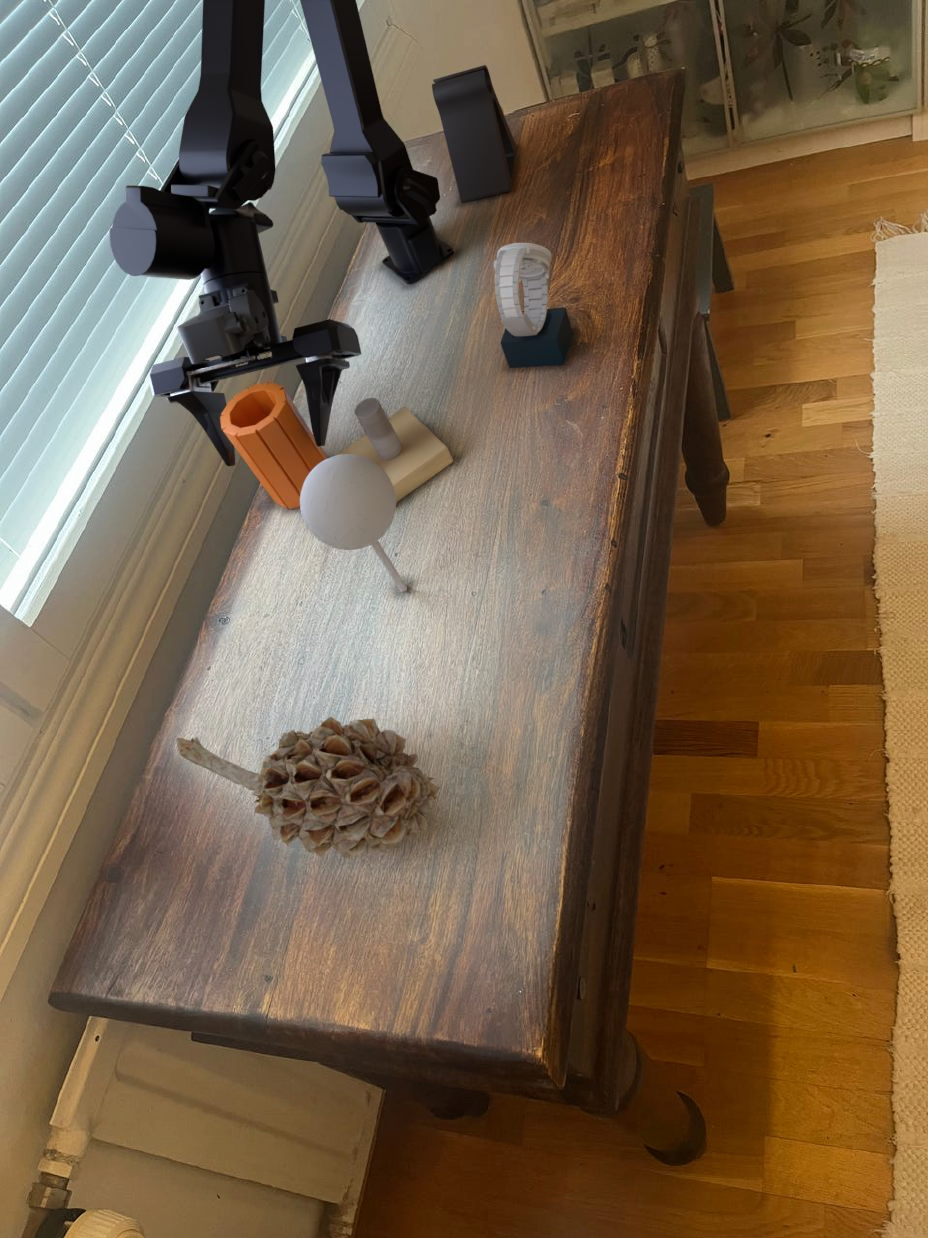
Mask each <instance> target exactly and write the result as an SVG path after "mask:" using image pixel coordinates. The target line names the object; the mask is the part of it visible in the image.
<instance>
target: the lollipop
mask: <svg viewBox="0 0 928 1238" xmlns="http://www.w3.org/2000/svg"><path fill="white" fill-rule="evenodd" d="M327 458H328V459H325V460H324V461H322V462H321V463H319V464H318V465H317V466H316V467H314V469H313V470H312V471H311V472H310V473H309V475H308V476H307V477H306V480H305V482H304V484H303V487H302V490H301V495H300V507H299V508H300V509H299V510H300V513H301V517H302V519H303V521H304V524H305V525H306V527H307V529H308V530H309V531H310V533H311V534H312V535H313V536H314V537H315V538H316V539H317V540H318V541H320V542H321V543H323V544H325V545H326V546H329V547H331V548H334V549H337V550H341V551H357V550H361V549H364V548H367V547H369V546H371V548H372V550H373V551H374V553H375V555H376V556H377V557H378V559H379V560H380V562H381V563H382V565H383V567H384V568H385V570H386V571H387V573H388V575H389V576H390V577H391V579H392V581H393V583H394V584H395V585H396V586H397V588H398V590H399V591H400V592H401V593H404V592H407V590H408V586H407V585H406V582H404V580H403V577H402V576H401V575H400V573H399V572H398V571H397V569H396V568H395V567H396V566H394V564H393V562H392V561H391V560H390V558H389V556H388V554H387V553H386V551H385V550H384V548H383V546H382V545H381V543H380V542H379V540H380V539H381V538H382V537H383V536H384V535H385V534H386V533H387V531H388V530H389V528H390V527H391V525H392V522H394V521H393V520H394V518H395V514H396V510H397V509H396V508H397V502H396V496H395V491H394V488H393V485H392V482H391V480H390V478H389V477H388V475H387V473H386V472H385V471H384V470H383V469H382V468H381V467H380V466H378V465H377V464H376V463H374V462H373V461H371V460H369V459H367V458H365V457H362V456H358V455H354V454H343V455H332V456H330V457H327Z"/></svg>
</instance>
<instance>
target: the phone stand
mask: <svg viewBox="0 0 928 1238" xmlns="http://www.w3.org/2000/svg"><path fill="white" fill-rule="evenodd" d="M432 82H433V83H431V91H432V95H433V100H434V103H435V106H436V108H437V111H438V115H439V118H440V121H441V125H442V129H443V133H444V138H445V141H446V142H445V143H446V146H447V151H448V154H449V158H450V162H451V167H452V170H453V175H454V178H455V182H456V187H457V190H458V196H459V199H460V202H461V204H463V203H468V202H472V201H476V200H481V199H485V198H489V197H494V196H497V195H501V194H506V193H510V192H512V187H513V181H514V172H515V166H516V158H517V152H518V151H517V150H518V148H517V144H516V142H515V140H514V137H513V135H512V132H511V129H510V127H509V124H508V122H507V119H506V116H505V114H504V112H503V109H502V107H501V106H502V105H501V104H500V102H499V99H498V96H497V94H496V91H495V89H494V85H493V82H492V78H491V75H490V71H489V69H488V66H487V65H486V64H483V65H480V66H477V67H476V66H475V67H473V68H469V69H466V70H462V71H459V72H455V73H451V74H448V75H445V76H441V77H437V78H434V79H432Z"/></svg>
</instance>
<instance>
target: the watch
mask: <svg viewBox="0 0 928 1238" xmlns="http://www.w3.org/2000/svg"><path fill="white" fill-rule="evenodd" d="M551 260H552V252H551V251H550V249H548V248H546V247H545V246H543V245H540V244H536V243H530V242H514V243H508V244H506V245H503V246H502V247H500V248H499V249H498V251H497V252H496V259H495V260H493V268H494V290H495V298H496V299H495V300H496V304H497V309H498V312H499V315H500V317H501V319H500V321H501V323H502V325H503V326H504V331H503V333H502V337H501V340H500V343H499V344H500V346H501V349H502V352H503V354H504V358H505V360H506V363H507V366H508V368H509V369H517V368H533V367H534V368H535V367H551V366H564V365H565V363H566V360H567V356H568V352H569V349H570V345H571V343H572V338H573V335H574V331H573V329H572V328H573V327H572V324H571V320H570V317H569V313H568V310H567V307H566V306H564V307H551V308H548V305H549V295H548V293H549V286H548V285H549V284H548V279H550V271H551ZM520 282H522V286H523V288H522V289H523V296H524V299H523V300H524V302H523V303H524V307H523V310H522V305H521V299H520V284H519V283H520Z"/></svg>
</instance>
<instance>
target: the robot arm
mask: <svg viewBox="0 0 928 1238" xmlns="http://www.w3.org/2000/svg"><path fill="white" fill-rule="evenodd" d="M299 2H300V5H301V9H302V13H303V16H304V21H305V24H306V28H307V31H308V35H309V39H310V43H311V47H312V51H313V55H314V58H315V62H316V66H317V70H318V73H319V77H320V81H321V85H322V88H323V91H324V96H325V99H326V103H327V107H328V111H329V114H330V118H331V122H332V126H333V135H332V139H331V144H330V147H329V151H328V152H326V153H323V154H322V155H321V156H320V157H321V158H320V159H321V160H320V162H321V167H322V169H323V171H324V174H325V177H326V181H327V185H328V197H330V198H334V201H335V203H336V205H337V207H338V209H339V210H340V211H343V212H344V213H346V214H347V215H348V216H351V217H352V218H353V219H354V220H355V221H356V223H358V224H363V223H373V224H374V223H375V225H376V228H377V230H378V233H379V235H380V237H381V239H382V242H383V244H384V246H385V248H386V251H387V253H388V256H386V257H384V258H383V259H382V261H381V263H382V265H383V267H385V268H386V269H388V270H389V271H390V272H391V273H393V275H395V276H396V277H397V278H399V279H400V280H402V281H403V282H404V283H405V284H407V285H412V284H413V283H414V282H416V281H417V280H419V279H420V278H422V277H423V276H425V275H426V274H428V273H429V272H430V271H433V269H435V268H436V267H438V266H439V265H441V264H443V263H444V262H445V261H446V260H448V259H450V258H451V257H453V255H454V254H455V249H454V247H452V246H451V245H449V244H448V243H447V242H445V241H443V240H442V239H440V238H439V237H438V235H437V231H436V230H435V227H434V224H433V221H432V219H431V217H432V216H433V215H435V214H436V213H437V211H438V209H437V203H439V201H440V200H441V194H440V186H439V179H438V177H436V176H433V175H430V174H427V173H424V172H421V171H418V170H415V169H414V168H413V165H412V161H411V159H410V156H409V153H408V149H407V146H406V144H405V143H404V141H403V140H402V139H401V137H400V136H399V135H398V133H396V131H395V130H394V129H393V128H392V126H391V125H390V124H389V123H388V121H387V120H386V119H385V117H384V115H383V112H382V107H381V103H380V99H379V93H378V89H377V86H376V81H375V76H374V73H373V68H372V63H371V60H370V59H371V58H370V56H369V49H368V47H367V41H366V38H365V33H364V29H363V24H362V20H361V16H360V12H359V8H358V3H357V0H299ZM265 8H266V0H202V18H201V19H202V21H201V23H202V24H201V51H200V52H201V54H200V55H201V56H200V77H199V83H198V88H197V92H196V94H195V96H194V98H193V100H192V101H191V103H190V105H189V107H188V109H187V111H186V113H185V115H184V119H183V124H182V125H183V126H182V131H181V137H180V138H181V139H180V142H179V143H180V144H179V150H178V159H177V160H176V163H175V164H174V166H173V167H172V169H171V171H170V173H169V174H168V176H167V178H166V180H165V181H164V183H163V185H162V186H161V188H160V190H159V189H158V188H156V187H153V186H147V185H126V186H125V187H124V195H125V201H124V202H123V203H122V204H121V205H120V206H119V207H118V209H116V211H115V213H114V217H113V220H112V224H111V225H112V226H111V227H110V228H109V244H110V249H111V253H112V256H113V258H114V261H115V263H116V264H117V266H118V267H119V268H120V269H121V270H122V271H123V272H124V273H125V274H127V275H129V276H132V277H139V278H141V277H143V278H155V279H170V280H186V281H191V280H194V279H196V278H198V277H200V278H201V282H202V286H203V290H204V293H203V294H199V295H198V299H199V300H198V306H199V310H200V313H199V314H198V315H194V316H193V317H192V318H189V319H187V320H186V321H185V322H183V323H181V324H179V325H177V327H176V330H177V331H178V333H179V336H180V339H181V341H182V343H183V346H184V348H185V350H186V354H187V356H183V357H178V358H174V359H171V360H167V361H163V362H159V363H155V364H152V367H151V369H150V373H149V376H148V382H149V386H150V390H151V395H152V397H153V398H166V400H167V401H168V403H169V404H172V405H173V404H174V405H175V404H176V405H180V406H182V407H183V408H184V409H185V410H187V412H189V413H190V414H191V415H192V416H193V417H194V418H195V420H196V421H197V423H198V424H199V425H200V426H201V428H202V430H204V432H205V434H206V436H207V437H208V438H209V440H210V442H211V444H212V445H213V446H214V449H215V450H216V451H217V453H218V455H219V456H220V458H221V459H222V461H223V462H224V464H225V465H226V466H227V467H235V466H236V448H235V447H234V445H233V444H232V443H231V441H230V440H229V439H228V437H227V436H226V434H225V433H224V432H223V430H222V428H221V420H220V417H221V416H222V415H221V413H222V412H223V410H224V409H225V407H226V405H227V401H226V395H225V393H224V392H216V391H215V390H216V388H217V386H218V384H219V382H220V381H223V380H226V379H230V378H234V377H238V376H242V375H246V374H250V373H255V372H258V371H262V370H267V369H271V368H274V367H278V366H282V365H286V364H291V363H294V362H299V361H302V360H305V362H302V363H298V364H296V365H295V368H296V370H297V372H298V375H299V376H300V379H301V381H302V383H303V385H304V389H305V397H306V403H307V408H308V414H309V415H308V416H309V420H310V421H309V422H310V426H311V427H310V428H311V432H312V434H313V435H314V439H315V442H316V445H317V446H318V447H321V448H322V447H324V446H326V441H327V435H328V430H329V424H330V418H331V412H332V408H333V403H334V398H335V394H336V392H337V388H338V385H339V382H340V378H341V375H342V371H344V370H347V369H349V368H350V367H351V364H350V361H349V360H348V361H347V359H350V358H355V357H359V356H360V355H362V349H361V345H360V340H359V335H358V333H357V332H356V330H355V328H354V327H352V326H351V325H349V324H348V323H346V322H341V321H338V320H335V319H331V318H328V319H325V320H321V321H317V322H313V323H309V324H306V325H301V326H297V327H294V329H293V333H292V339H290V340H288V337H287V336H286V335H281V331H280V326H279V322H278V317H277V312H276V308H275V304H278V303H279V302H280V301H279V296H278V292H277V290H274V289H271V285H270V281H269V276H268V272H267V268H266V263H265V259H264V255H263V250H262V245H261V241H260V236H259V234H261V233H263V232H266V231H267V230H270V229H272V228H274V221H273V220H272V219H271V218H270V217H269V216H268V215H267V214H266V213H264V212H262V211H261V210H259V209H258V208H257V207H256V206H255V204H254V203H253V202H256V201H257V200H259V199H262V198H263V197H264V195H266V193H267V192H268V191H270V190H271V189H272V188H273V185H274V183H275V176H276V152H275V151H276V150H275V136H274V135H275V134H274V126H273V123H272V121H271V119H270V116H269V114H268V112H267V110H266V107H265V105H264V103H263V98H262V97H263V96H262V71H263V70H262V69H263V53H264V51H263V49H264V48H263V47H264V29H265ZM248 201H249V202H248ZM210 210H211V211H210ZM270 353H271V356H267V357H263V358H261V357H260V356H261V355H266V354H270ZM214 357H215V359H211V358H214ZM216 357H219V358H216ZM210 359H211V360H210Z"/></svg>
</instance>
